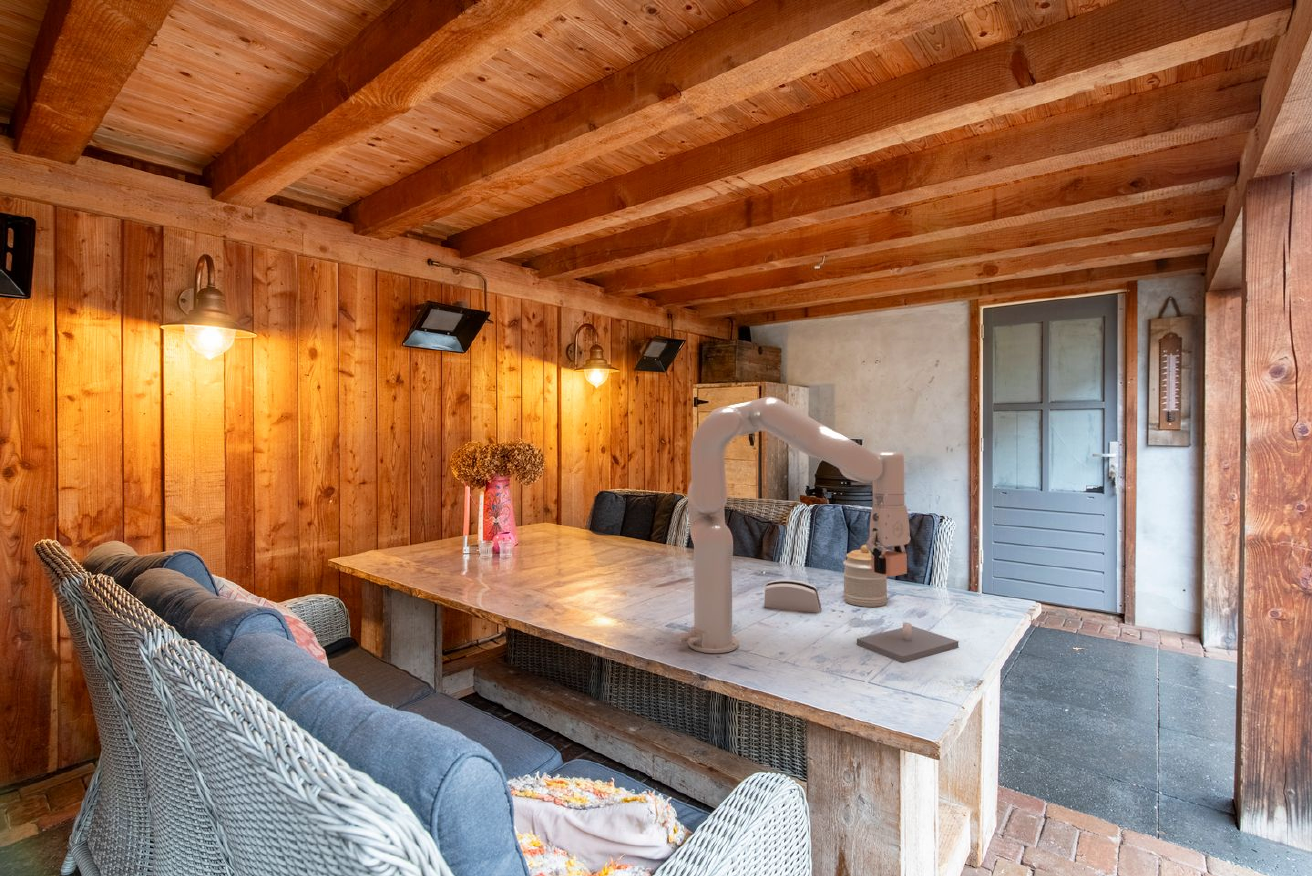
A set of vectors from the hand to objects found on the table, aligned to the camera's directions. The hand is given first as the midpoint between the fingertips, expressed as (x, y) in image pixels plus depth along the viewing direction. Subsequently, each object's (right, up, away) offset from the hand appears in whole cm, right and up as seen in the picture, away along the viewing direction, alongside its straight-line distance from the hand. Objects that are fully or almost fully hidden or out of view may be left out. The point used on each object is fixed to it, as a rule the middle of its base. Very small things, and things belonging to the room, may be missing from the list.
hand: (889, 570), depth 162 cm
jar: (+6, -17, +36) cm, 40 cm away
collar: (0, -1, 0) cm, 1 cm away
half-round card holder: (-18, -18, +29) cm, 39 cm away
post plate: (+3, -18, -3) cm, 19 cm away
